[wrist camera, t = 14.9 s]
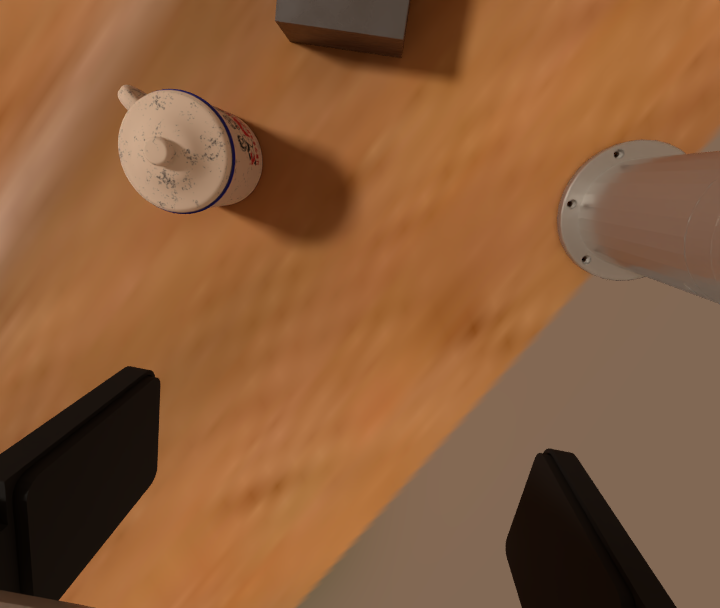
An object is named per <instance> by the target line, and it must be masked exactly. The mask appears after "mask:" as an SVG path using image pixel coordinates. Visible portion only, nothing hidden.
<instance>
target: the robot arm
mask: <svg viewBox="0 0 720 608" xmlns="http://www.w3.org/2000/svg"><path fill="white" fill-rule="evenodd" d="M615 152H616V153H617V154H616V157H614V153H615ZM568 201H570V202H571V204H570V206H567V203H568ZM557 227H558V234H559V238H560V241H561V244H562V246H563V248H564V250H565V252H566V254H567V255H568V256H569V257H570V258H571V260H572V261H573V262H574V263H575V264H576V265H578V266H579V267H580V268H582V269H583V270H585V271H587V272H589V273H590V274H592V275H595V276H598V277H601V278H603V279H609V280H616V281H619V280H620V281H621V280H633V279H638V278H643V277H648V278H651V279H654V280H657V281H659V282H662V283H665V284H668V285H670V286H673V287H675V288H678V289H681V290H684V291H686V292H689V293H692V294H694V295H697V296H700V297H702V298H705V299H708V300H711V301H713V302H716V303H719V304H720V151H714V152H703V153H692V154H685V153H684V152H683V151H682V150H681V149H679V148H677V147H675V146H673V145H671V144H668V143H664V142H661V141H657V140H635V141H628V142H624V143H620V144H616V145H613V146H611V147H609V148H607V149H604V150H602V151H600V152H599V153H597V154H596V155H594V156H593V157H591V158H590V159H589V160H588V161H586V162H585V163H584V164H583V165H582V166H581V167H580V168H579V169H578V170H577V171H576V173H575V174H574V175H573V177H572V178H571V179H570V181H569V182H568V184H567V186H566V188H565V190H564V192H563V194H562V197H561V200H560V203H559V208H558V215H557ZM583 257H585V259H584V260H583V261H582V258H583ZM159 406H160V380H159V379H158V378H156V377H155V375H154V372H153V371H151V370H146V369H141V368H136V367H131V366H127V367H125V368H124V369H122V370H121V371H119V372H118V373H116V374H115V375H113V376H112V377H111V378H109V379H108V380H106V381H105V382H103V383H102V384H101V385H99V386H98V387H96V388H95V389H93V390H92V391H90V392H89V393H88V394H86V395H85V396H83V397H82V398H80V399H79V400H78V401H76V402H75V403H73V404H72V405H70V406H69V407H67V408H66V409H65V410H63V411H62V412H60V413H59V414H57V415H56V416H55V417H53V418H52V419H50V420H49V421H47V422H46V423H44V424H43V425H42V426H40V427H39V428H37V429H36V430H34V431H33V432H32V433H30V434H29V435H27V436H26V437H24V438H23V439H21V440H20V441H19V442H17V443H16V444H14V445H13V446H11V447H10V448H9V449H7V450H6V451H4V452H3V453H1V454H0V608H94V607H89V606H84V605H79V604H74V603H68V602H63V601H58V600H59V599H60V598H61V597H62V595H63V594H64V593H65V592H66V590H67V589H68V588H69V587H70V585H71V584H72V583H73V582H74V580H75V579H76V578H77V577H78V575H79V574H80V573H81V572H82V570H83V569H84V568H85V567H86V565H87V564H88V563H89V562H90V560H91V559H92V558H93V557H94V555H95V554H96V553H97V552H98V550H99V549H100V548H101V547H102V545H103V544H104V543H105V541H106V540H107V539H108V538H109V536H110V535H111V534H112V533H113V531H114V530H115V529H116V528H117V526H118V525H119V524H120V523H121V521H122V520H123V519H124V518H125V516H126V515H127V514H128V513H129V511H130V510H131V509H132V508H133V506H134V505H135V504H136V503H137V501H138V500H139V499H140V498H141V496H142V495H143V494H144V493H145V491H146V490H147V489H148V488H149V486H150V485H151V484H152V482H153V480H154V478H155V475H156V472H157V460H158V433H159ZM506 556H507V560H508V563H509V566H510V569H511V573H512V576H513V580H514V583H515V586H516V589H517V593H518V596H519V599H520V603H521V606H522V608H676V606H675V605H674V603H673V601H672V600H671V598H670V597H669V595H668V594H667V593H666V591H665V589H664V588H663V586H662V585H661V583H660V582H659V580H658V579H657V577H656V576H655V574H654V573H653V571H652V570H651V568H650V567H649V565H648V564H647V562H646V561H645V559H644V558H643V556H642V555H641V553H640V552H639V550H638V549H637V547H636V546H635V544H634V543H633V541H632V540H631V538H630V537H629V536H628V534H627V532H626V531H625V529H624V528H623V526H622V525H621V523H620V522H619V520H618V519H617V517H616V516H615V514H614V513H613V511H612V510H611V508H610V507H609V505H608V504H607V502H606V501H605V499H604V498H603V496H602V495H601V493H600V492H599V490H598V489H597V487H596V486H595V484H594V483H593V481H592V480H591V478H590V477H589V475H588V474H587V472H586V471H585V469H584V468H583V466H582V465H581V463H580V462H579V460H578V459H577V457H576V456H575V455H574V454H573V453H570V452H564V451H559V450H554V449H546V450H545V451H544V453H543V454H542V453H539V454H537V455H536V457H535V460H534V463H533V465H532V468H531V471H530V474H529V477H528V480H527V482H526V485H525V488H524V491H523V494H522V497H521V500H520V503H519V505H518V508H517V511H516V514H515V517H514V519H513V522H512V525H511V528H510V531H509V534H508V536H507V540H506Z"/></svg>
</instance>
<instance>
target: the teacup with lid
mask: <svg viewBox="0 0 720 608" xmlns="http://www.w3.org/2000/svg"><path fill="white" fill-rule="evenodd" d="M118 98H119V100H120V102H121V103H122V104H123V105H124V107H125V108H126V109H127V110H128V112H127V113H126V115H125V117H124V119H123V121H122V124H121V127H120V131H119V138H118V149H119V156H120V161H121V164H122V167H123V170H124V172H125V174H126V176H127V178H128V180H129V181H130V183H131V184H132V186H133V187H134V188H135V190H136V191H137V192H138V193H139V194H140V195H141V196H142V197H143V198H145V199H146V200H147V201H149V202H150V203H152V204H153V205H155V206H157V207H158V208H161V209H163V210H166V211H168V212H172V213H178V214H191V213H197V212H200V211H203V210H205V209H207V208H211V207H218V206H225V205H231V204H235V203H237V202H239V201H241V200H243V199H244V198H246V197H247V196H248V195H249V194H250V193H251V192H252V191H253V190H254V189H255V187H256V185H257V184H258V181H259V179H260V176H261V172H262V153H261V148H260V145H259V142H258V140H257V138H256V136H255V135H254V133H253V131H252V130H251V129H250V128H249V126H248V125H247V124H246V123H244V122H243V121H242V120H241V119H240V118H238V117H236V116H235V115H233V114H231V113H228V112H226V111H224V110H221V109H219V108H216V107H214V106H212V105H210V104H209V103H208V102H206V101H205V100H204V99H202V98H200V97H199V96H197V95H195V94H192V93H190V92H187V91H183V90H177V89H163V90H158V91H155V92H152V93H149V94H146V93H144V92H143V91H141V90H139V89H137V88H135V87H133V86H130V85H123V86H122V87H121V88H120V90H119V91H118Z"/></svg>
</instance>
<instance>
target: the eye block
mask: <svg viewBox="0 0 720 608" xmlns="http://www.w3.org/2000/svg"><path fill="white" fill-rule="evenodd" d="M409 6H410V0H277V4H276V17H275V21H276V23H277V24H278V25H279V27H280V28H281V30H282V31H283V32H284V34H285V35H286V37H287V38H288V39H289V41H290V42H296V43H303V44H310V45H317V46H323V47H330V48H337V49H344V50H351V51H357V52H364V53H371V54H378V55H385V56H391V57H398V58H402V51H403V45H404V38H405V32H406V26H407V19H408V13H409Z"/></svg>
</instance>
